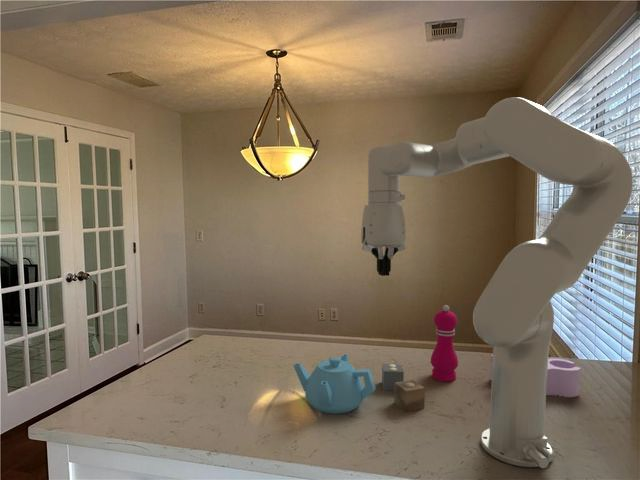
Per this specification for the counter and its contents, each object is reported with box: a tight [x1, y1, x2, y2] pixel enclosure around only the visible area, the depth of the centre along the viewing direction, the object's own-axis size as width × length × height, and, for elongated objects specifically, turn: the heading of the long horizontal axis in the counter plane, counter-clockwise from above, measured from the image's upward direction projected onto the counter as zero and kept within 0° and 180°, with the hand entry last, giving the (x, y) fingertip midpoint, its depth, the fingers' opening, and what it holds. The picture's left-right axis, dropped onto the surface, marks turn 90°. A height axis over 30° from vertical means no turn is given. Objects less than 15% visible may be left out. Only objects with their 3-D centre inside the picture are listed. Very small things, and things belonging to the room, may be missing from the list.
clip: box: [489, 354, 581, 398], centre depth 111 cm, size 20×12×7 cm, turn 79°
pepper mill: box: [430, 304, 459, 382], centre depth 118 cm, size 7×7×20 cm
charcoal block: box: [381, 363, 405, 391], centre depth 112 cm, size 5×5×5 cm
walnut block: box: [393, 379, 426, 413], centre depth 101 cm, size 5×5×5 cm
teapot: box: [293, 353, 377, 415], centre depth 102 cm, size 15×15×11 cm
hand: (383, 274), depth 105 cm, fingers closed
